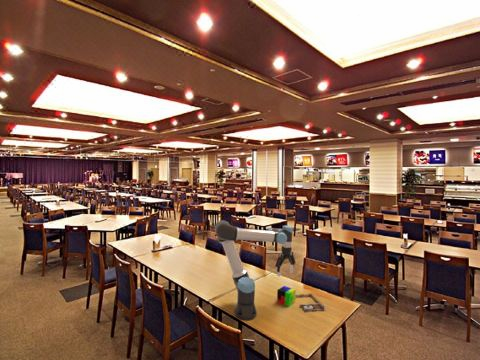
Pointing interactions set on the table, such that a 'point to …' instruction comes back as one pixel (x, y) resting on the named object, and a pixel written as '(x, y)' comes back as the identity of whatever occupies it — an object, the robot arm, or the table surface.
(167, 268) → the table surface
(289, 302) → the puzzle toy
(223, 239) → the robot arm
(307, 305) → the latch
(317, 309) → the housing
